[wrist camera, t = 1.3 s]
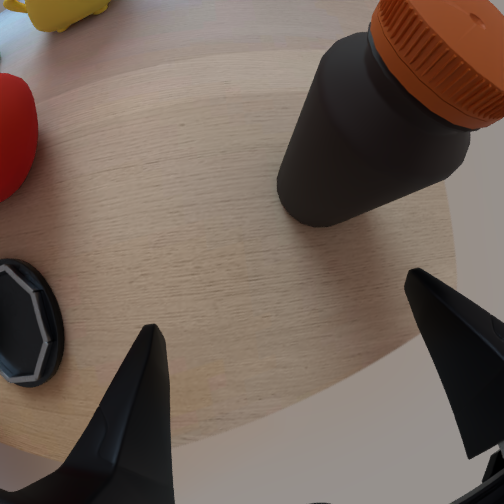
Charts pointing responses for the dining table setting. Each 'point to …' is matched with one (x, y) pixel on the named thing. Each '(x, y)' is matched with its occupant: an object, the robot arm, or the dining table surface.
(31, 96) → the tomato
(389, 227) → the dining table surface
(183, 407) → the dining table surface
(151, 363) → the robot arm
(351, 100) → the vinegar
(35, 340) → the stand
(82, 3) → the teapot
